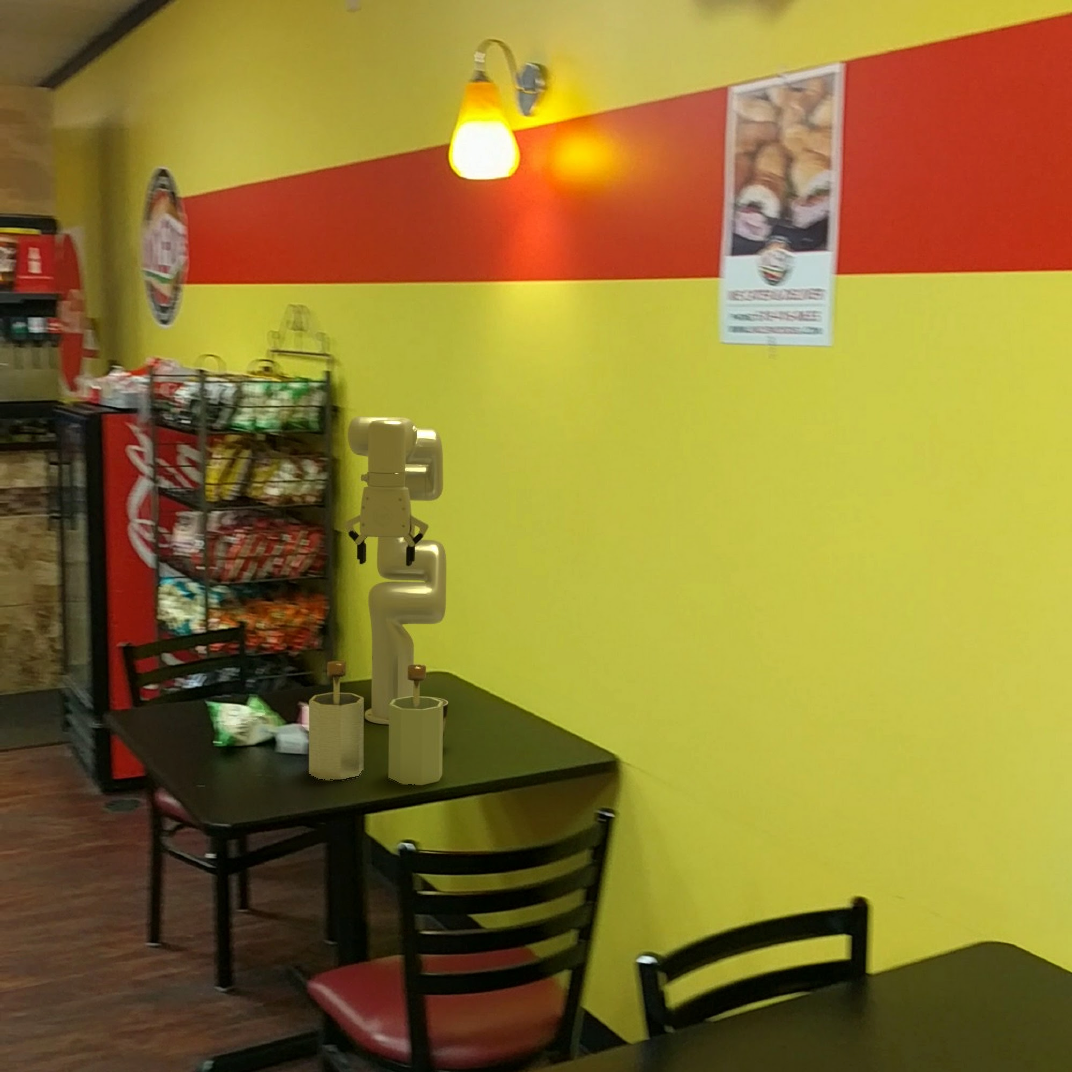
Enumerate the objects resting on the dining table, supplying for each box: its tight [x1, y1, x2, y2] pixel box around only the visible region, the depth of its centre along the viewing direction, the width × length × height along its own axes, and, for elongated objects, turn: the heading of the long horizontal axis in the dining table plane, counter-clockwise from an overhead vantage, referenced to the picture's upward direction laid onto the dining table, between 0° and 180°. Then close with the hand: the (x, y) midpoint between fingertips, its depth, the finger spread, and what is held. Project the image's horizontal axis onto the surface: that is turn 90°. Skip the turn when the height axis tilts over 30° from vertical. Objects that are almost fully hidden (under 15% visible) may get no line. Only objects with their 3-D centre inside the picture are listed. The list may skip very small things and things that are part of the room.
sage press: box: [388, 696, 444, 786], centre depth 260 cm, size 10×10×15 cm
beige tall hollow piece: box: [308, 691, 365, 781], centre depth 262 cm, size 10×10×15 cm
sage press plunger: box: [407, 664, 427, 709], centre depth 259 cm, size 8×8×17 cm
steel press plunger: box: [326, 660, 347, 705], centre depth 261 cm, size 8×8×17 cm
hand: (385, 564), depth 269 cm, fingers open, 9 cm apart
